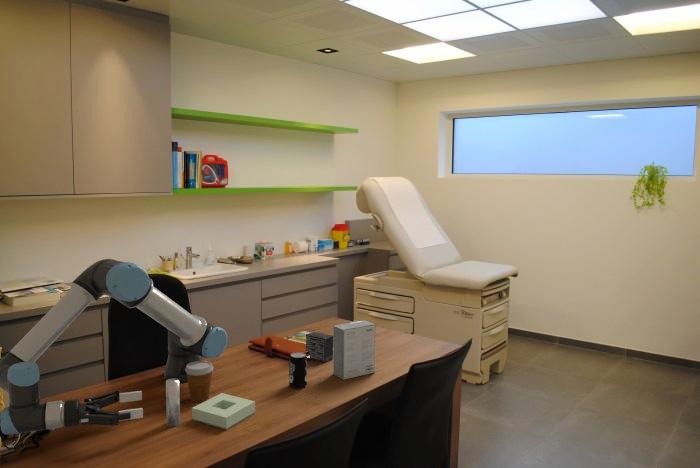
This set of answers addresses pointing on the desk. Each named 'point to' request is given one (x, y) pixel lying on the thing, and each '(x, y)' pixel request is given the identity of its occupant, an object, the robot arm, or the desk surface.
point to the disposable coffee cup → (199, 380)
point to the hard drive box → (353, 349)
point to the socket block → (223, 411)
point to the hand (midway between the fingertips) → (142, 403)
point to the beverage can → (298, 370)
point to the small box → (319, 346)
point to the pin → (173, 402)
